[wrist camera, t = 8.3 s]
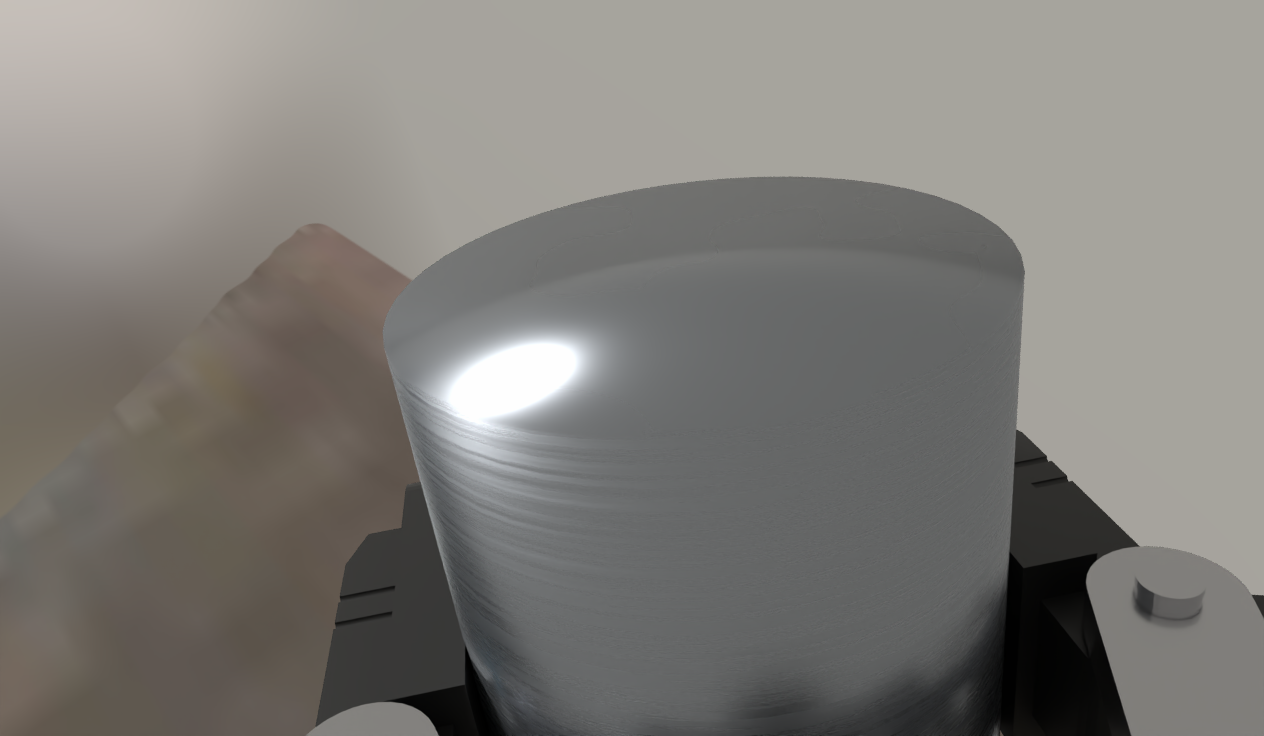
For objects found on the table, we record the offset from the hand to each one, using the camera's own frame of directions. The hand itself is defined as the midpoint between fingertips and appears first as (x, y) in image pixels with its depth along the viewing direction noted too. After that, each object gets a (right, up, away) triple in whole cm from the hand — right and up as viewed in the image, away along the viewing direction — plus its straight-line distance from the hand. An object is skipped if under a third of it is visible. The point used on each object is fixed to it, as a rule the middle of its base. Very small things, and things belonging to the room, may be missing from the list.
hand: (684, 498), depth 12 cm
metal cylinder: (+1, -6, 0) cm, 7 cm away
